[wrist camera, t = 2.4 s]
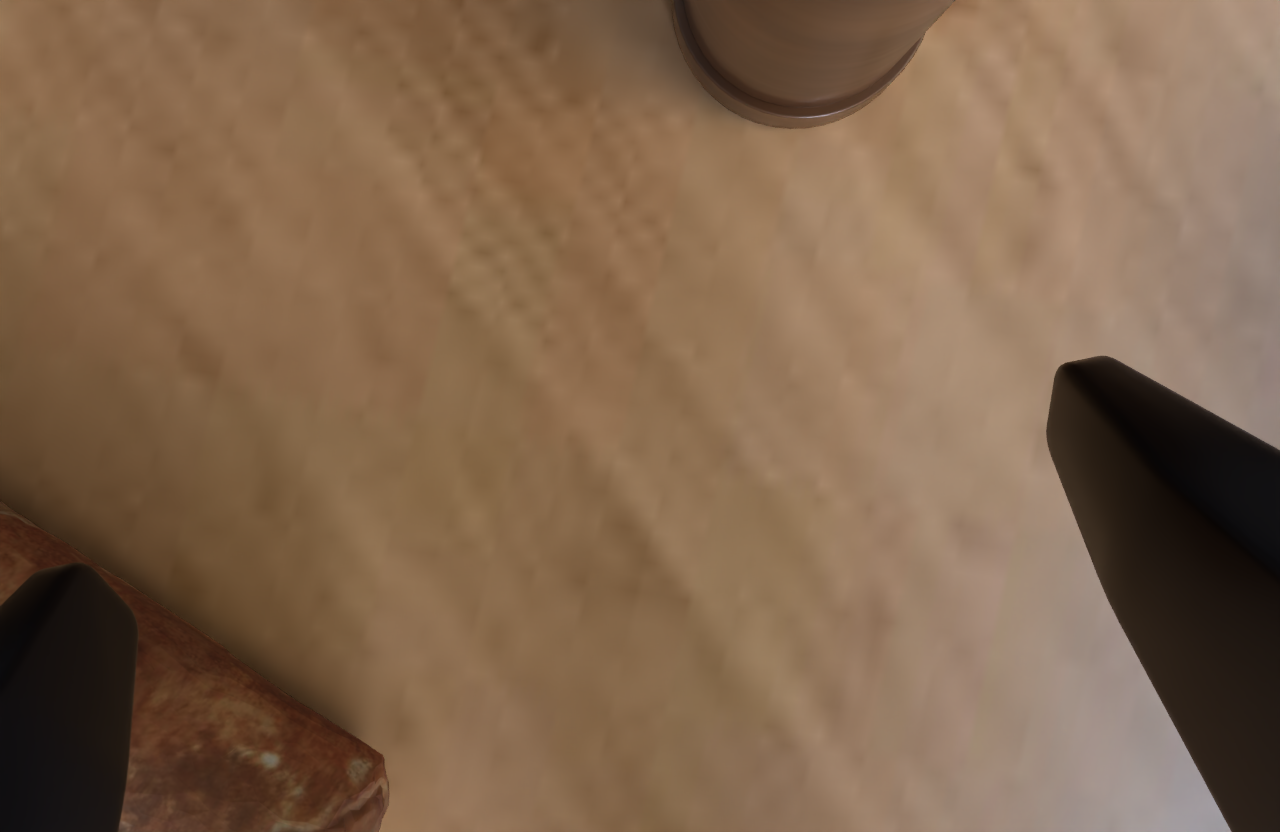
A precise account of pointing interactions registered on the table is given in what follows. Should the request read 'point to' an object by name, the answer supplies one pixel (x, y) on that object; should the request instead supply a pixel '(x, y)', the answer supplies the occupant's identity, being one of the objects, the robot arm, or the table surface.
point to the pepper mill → (800, 53)
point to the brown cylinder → (215, 726)
